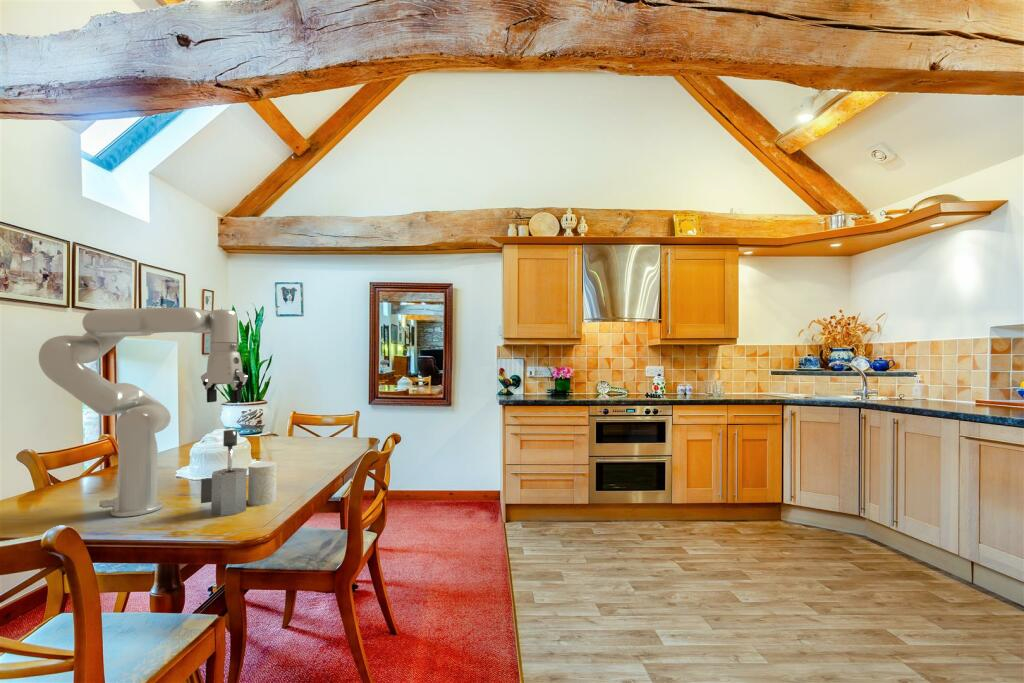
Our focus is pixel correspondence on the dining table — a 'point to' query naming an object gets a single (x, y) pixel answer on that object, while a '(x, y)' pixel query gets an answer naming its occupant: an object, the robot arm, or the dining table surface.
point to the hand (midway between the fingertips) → (224, 402)
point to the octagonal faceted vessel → (225, 491)
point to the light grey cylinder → (262, 483)
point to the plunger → (230, 445)
